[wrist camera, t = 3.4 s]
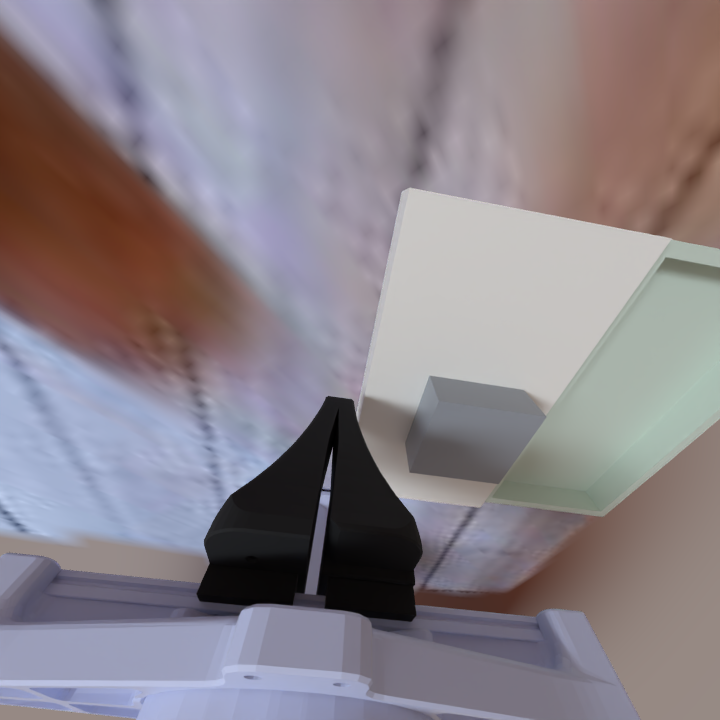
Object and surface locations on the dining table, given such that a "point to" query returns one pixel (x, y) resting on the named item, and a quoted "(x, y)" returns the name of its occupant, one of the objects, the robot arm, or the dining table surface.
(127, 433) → the dining table surface
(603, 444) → the box
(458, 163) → the dining table surface
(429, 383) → the grey tile
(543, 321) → the white board
